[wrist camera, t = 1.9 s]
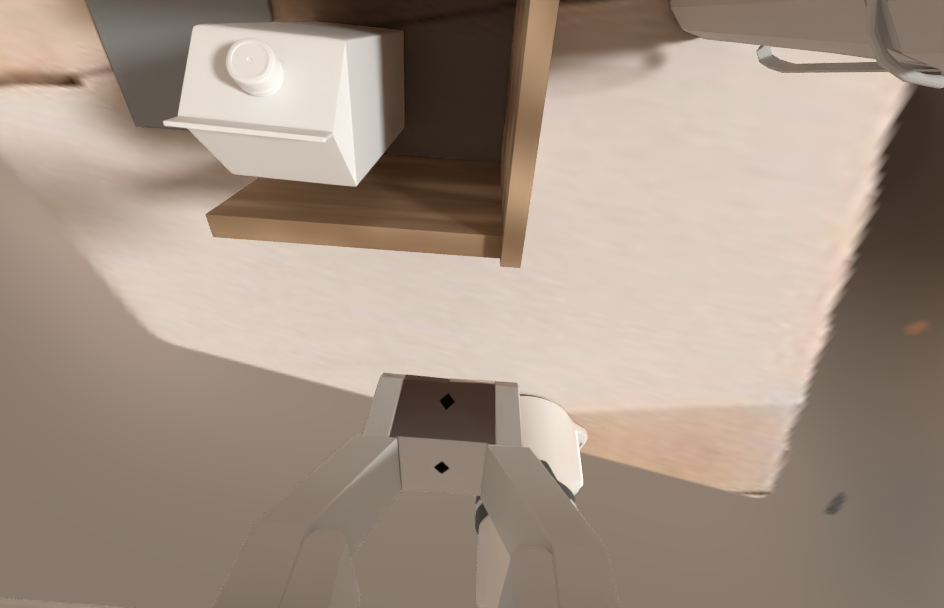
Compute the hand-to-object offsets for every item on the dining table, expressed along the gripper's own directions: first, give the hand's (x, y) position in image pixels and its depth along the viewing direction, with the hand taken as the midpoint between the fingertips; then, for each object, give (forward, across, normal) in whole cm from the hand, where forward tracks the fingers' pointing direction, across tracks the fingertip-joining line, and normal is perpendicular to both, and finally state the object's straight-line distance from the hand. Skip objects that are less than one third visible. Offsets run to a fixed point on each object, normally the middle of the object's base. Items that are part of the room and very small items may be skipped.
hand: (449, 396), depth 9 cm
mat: (+31, +24, -2) cm, 39 cm away
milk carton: (+31, +10, -2) cm, 33 cm away
